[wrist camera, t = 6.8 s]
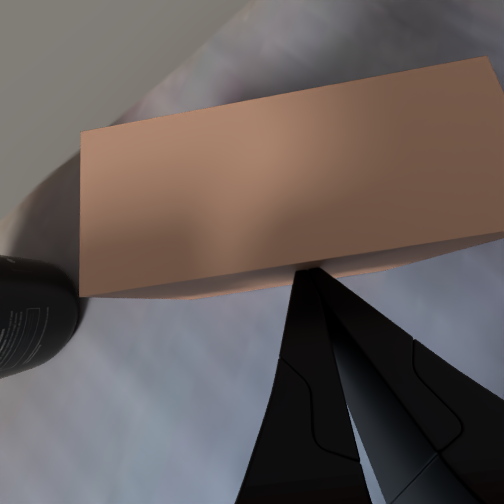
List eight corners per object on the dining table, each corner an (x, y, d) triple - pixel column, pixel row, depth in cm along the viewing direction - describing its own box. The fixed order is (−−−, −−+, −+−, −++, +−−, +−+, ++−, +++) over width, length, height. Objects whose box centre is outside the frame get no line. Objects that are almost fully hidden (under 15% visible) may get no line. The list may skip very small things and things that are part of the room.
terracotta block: (384, 270, 14) (560, 222, 6) (191, 299, 15) (79, 296, 6) (364, 194, 16) (487, 55, 7) (184, 224, 16) (80, 131, 7)
